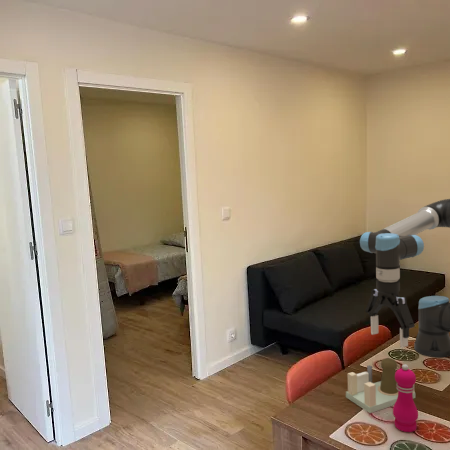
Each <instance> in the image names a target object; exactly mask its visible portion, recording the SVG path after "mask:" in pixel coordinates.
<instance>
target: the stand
mask: <svg viewBox="0 0 450 450" xmlns="http://www.w3.org/2000/svg"><path fill="white" fill-rule="evenodd" d="M366 368H367V369H366V370H367V371H366V372H367V373H369V382H368V383H364V391H362V392H359V393H357V394H355V395H351V394H349V393H348V390H347V391H345V398H346V399H348V400H350V402H352V403H354V404H355V405H357V406H358V407H360V408H362V409H363V410H364V411H366V412H368V413H369V414H372V413H375V412H378V411H381V410H384V409H387V408H390V407H394V404H395V402H396V400H397V398H398V393H395V394H387V393H384V392H382V391H381V390H380V386H381V380H380V381H377V382H373V366H372V365H367V367H366ZM412 395H413V400H414V399H416V392H415V390H414V391H413V394H412Z"/></svg>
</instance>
